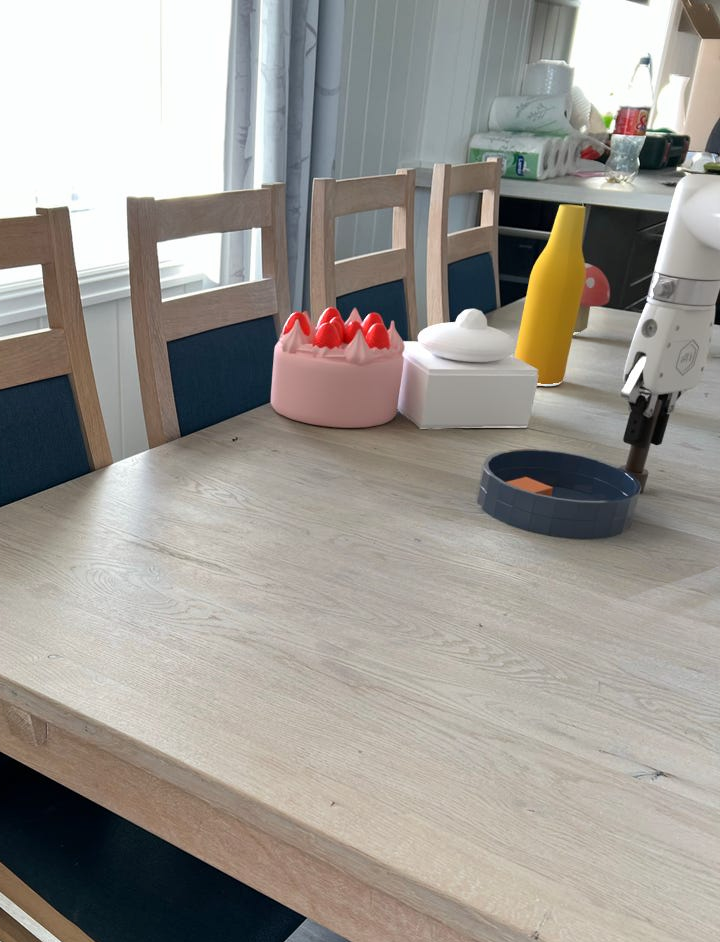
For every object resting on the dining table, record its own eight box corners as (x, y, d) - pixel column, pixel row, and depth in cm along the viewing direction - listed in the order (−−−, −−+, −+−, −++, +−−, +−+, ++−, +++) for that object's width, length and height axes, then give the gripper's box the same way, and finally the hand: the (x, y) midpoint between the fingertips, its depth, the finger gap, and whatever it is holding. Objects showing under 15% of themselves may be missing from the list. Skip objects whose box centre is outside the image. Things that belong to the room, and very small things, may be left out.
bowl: (661, 526, 117) (672, 487, 114) (561, 555, 108) (572, 513, 105) (543, 477, 130) (551, 441, 127) (445, 499, 120) (452, 461, 118)
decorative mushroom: (525, 334, 211) (540, 261, 203) (552, 326, 220) (566, 256, 212) (584, 346, 203) (602, 270, 196) (609, 337, 213) (626, 265, 205)
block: (546, 519, 115) (553, 487, 113) (524, 525, 113) (531, 493, 111) (519, 508, 118) (526, 476, 116) (497, 514, 116) (504, 482, 114)
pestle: (648, 494, 126) (674, 402, 120) (631, 498, 124) (656, 405, 118) (625, 484, 128) (649, 394, 122) (607, 489, 127) (631, 397, 121)
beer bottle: (559, 377, 179) (597, 205, 164) (565, 390, 171) (605, 211, 156) (508, 372, 180) (541, 201, 165) (511, 384, 172) (547, 206, 157)
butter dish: (420, 429, 145) (437, 320, 137) (380, 395, 160) (394, 295, 153) (528, 428, 149) (550, 321, 141) (479, 395, 164) (497, 297, 156)
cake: (371, 392, 162) (383, 303, 155) (415, 429, 145) (430, 332, 138) (257, 392, 158) (263, 301, 151) (288, 431, 141) (297, 330, 134)
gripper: (670, 301, 107) (627, 461, 116) (751, 294, 115) (705, 444, 124) (613, 289, 112) (576, 443, 121) (695, 282, 121) (654, 427, 130)
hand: (642, 442), depth 123 cm, fingers closed on pestle, 2 cm apart
